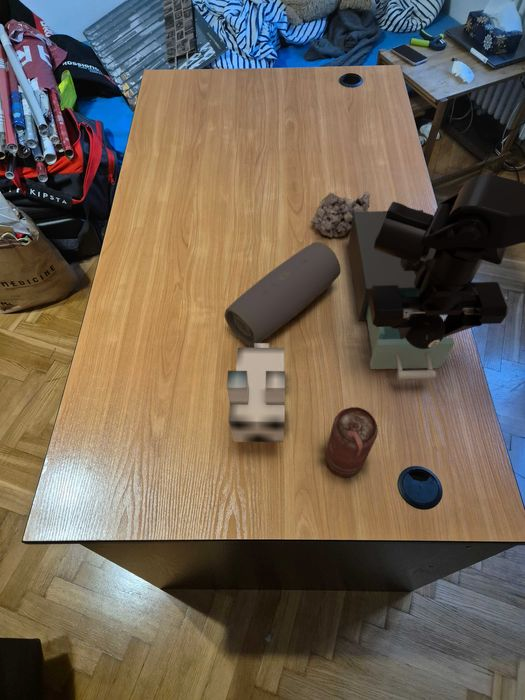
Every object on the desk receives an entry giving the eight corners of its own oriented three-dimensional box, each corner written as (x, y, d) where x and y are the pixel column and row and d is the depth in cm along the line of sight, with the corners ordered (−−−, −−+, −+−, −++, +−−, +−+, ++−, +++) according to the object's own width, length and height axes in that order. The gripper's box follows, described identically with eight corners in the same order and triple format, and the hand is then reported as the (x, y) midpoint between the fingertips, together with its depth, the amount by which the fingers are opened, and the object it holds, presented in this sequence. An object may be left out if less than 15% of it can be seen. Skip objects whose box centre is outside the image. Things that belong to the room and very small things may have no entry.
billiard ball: (412, 360, 73) (422, 339, 68) (393, 331, 76) (401, 308, 71) (445, 349, 74) (458, 327, 69) (425, 320, 77) (436, 297, 72)
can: (333, 484, 73) (343, 453, 61) (319, 447, 76) (327, 410, 65) (369, 474, 74) (387, 441, 62) (354, 437, 77) (368, 399, 65)
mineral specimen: (373, 196, 103) (358, 174, 95) (377, 235, 101) (362, 216, 93) (322, 212, 109) (303, 193, 101) (325, 249, 107) (306, 233, 99)
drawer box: (429, 319, 90) (444, 286, 81) (358, 320, 90) (366, 288, 82) (411, 245, 100) (423, 209, 92) (347, 246, 100) (353, 211, 92)
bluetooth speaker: (305, 266, 98) (308, 230, 89) (339, 290, 94) (345, 255, 85) (224, 330, 90) (219, 297, 81) (258, 359, 86) (256, 328, 77)
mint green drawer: (446, 391, 80) (461, 368, 74) (373, 393, 80) (382, 370, 74) (420, 287, 93) (431, 259, 86) (357, 288, 93) (363, 261, 86)
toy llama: (283, 365, 85) (284, 296, 68) (283, 459, 76) (284, 405, 59) (242, 365, 85) (233, 296, 68) (237, 458, 76) (225, 405, 59)
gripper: (505, 224, 65) (467, 294, 79) (371, 228, 66) (355, 298, 79) (531, 285, 59) (485, 350, 73) (384, 289, 60) (364, 354, 73)
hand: (421, 336), depth 74 cm, fingers closed on billiard ball, 6 cm apart
